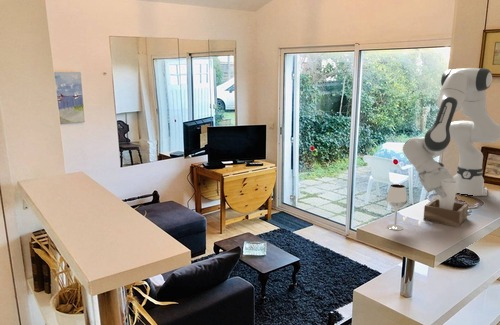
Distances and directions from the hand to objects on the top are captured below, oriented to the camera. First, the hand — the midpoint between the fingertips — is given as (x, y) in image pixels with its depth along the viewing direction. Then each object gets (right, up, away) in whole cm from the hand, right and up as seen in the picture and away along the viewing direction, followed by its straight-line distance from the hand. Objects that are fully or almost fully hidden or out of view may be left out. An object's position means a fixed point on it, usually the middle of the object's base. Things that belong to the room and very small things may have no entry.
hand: (448, 195), depth 171 cm
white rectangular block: (0, -9, +2) cm, 9 cm away
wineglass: (-26, -13, -6) cm, 30 cm away
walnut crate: (0, -11, +3) cm, 11 cm away
